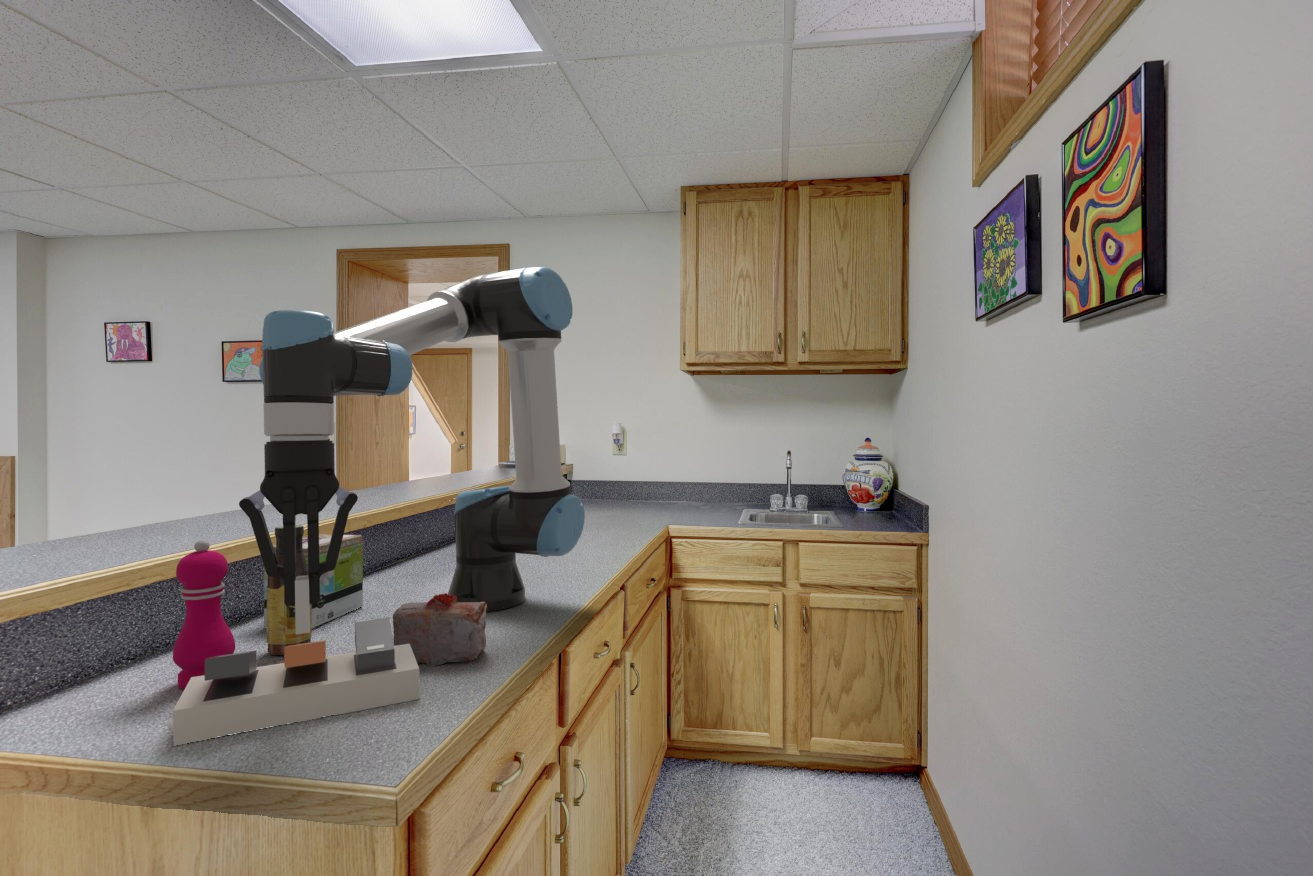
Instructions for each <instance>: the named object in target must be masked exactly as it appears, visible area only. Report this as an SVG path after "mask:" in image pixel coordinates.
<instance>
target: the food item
mask: <svg viewBox="0 0 1313 876" xmlns="http://www.w3.org/2000/svg"><path fill="white" fill-rule="evenodd" d="M456 601H457V597H456V596H454V595H451V596H449V595H448V593H440V594H435V595H434V596H433V597H432V598H431V599H429V601H422V602H420V601H419V602H417V601H416V602H405V603H403V604H402V605H401V606H400V607H397V608H396V609H395V611H394V612H393V615H392V627H393V630H392V631H393V633H392V634H393V642H394V646H397V645H404V644H410V646H411V648H412V651H413V654H414V656H415V659H416V661H417V664H427V665H429V666H430V667H436V666H440V665H444V664H446V663H467V662H472V661H474V660H475V658H476V659H477V658H478V656H479V655H480V654H481V653H483V652H485V650H486V647H487V637H486V632H485V631H486V627H487V623H486V622H487V621H486V618H487V611H486V608H487V604H486V602H456Z"/></svg>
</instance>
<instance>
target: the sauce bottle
mask: <svg viewBox="0 0 1313 876" xmlns="http://www.w3.org/2000/svg"><path fill="white" fill-rule="evenodd" d="M295 525H296V576H306V575H308V565H307V562H306V560H305V557H304V554H303V538H304V533H305V527H304V525H301V524H295ZM274 536H275V539H276V541H275V544H276V558H277V561H278V564H279V565H282V566H284V557H283V525H279V526H276V527H274ZM311 607H312V604H310V633H304V634H296V622H295V606H286V605H285V603H284V581H283V580H282V579H281V578H278V577H270V576H268V586H267V627H266V643H267V652H268V654H270V655H272V656H284V648H285V647H287V646H290V645H297V644H304V643H310V642H312V641H311V639H312V630H313V629H312V619H311Z"/></svg>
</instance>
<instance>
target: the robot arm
mask: <svg viewBox="0 0 1313 876" xmlns="http://www.w3.org/2000/svg"><path fill="white" fill-rule="evenodd" d="M573 310H574V309H573V302H572V297H571V294H570V291H569V288H568V286H567V285H566V283H565V282H564V280H563V278H562V277H561V276H560V275H559V273H557V271H555V270H553V269H552V268H550V267H546V266H534V267H533V266H531V267H530V266H526V267H523V268H518V269H517V268H516V269H512V270H504V271H498V272H490V273H485V274H483V273H482V274H479V275H475V276H473V277H471V278H467V279H465V280H463V281H460V282H458V283H455V284H453V285H451V286H448V287H446V288H444V289H441V290H438V291H434V292H433V293H431V294H430V295H429V296H428V297H427V299H426V300H425V301H423V302H420V303H417V304H413V305H411V306H408V307H405V308H402V309H400V310H396V311H394V312H392V313H391V312H390V313H388V314H385V315H382V316H379V317H376V318H373V319H370V320H367V321H364V322H360V323H359V324H355V325H352V326H350V327H347V328H344V329H341V330H337V331H335V330H334V328H333V321H332V318H331V317H330V316H328V315H327V314H323V313H321V312H316V311H313V310H311V311H309V310H302V309H301V310H299V309H282V310H274V311H272V312H269V313H267V314H266V315H265V317H264V318H263V326H262V340H261V341H262V342H261V343H262V344H261V346H260V348H261V349H260V350H261V351H262V358H261V360H260V362H259V368H258V370H259V371H258V373H259V378H260V379H261V382H262V385H263V435H264V436H266V437H269V441H266V442H265V444H263V445H264V476H263V477H264V478H263V480H262V481H261V483H260V485H259V490H257V491H256V492H254V493H253V494H251V495H250V496H247V497H243V498H242V499H240V500H239V503H238V505H239V508H241V510H242V511H243V512H244V514H245V515H246V516H247V518H249V521H250V524H251V527H252V531H253V535H254V538H255V541H256V544H257V549H259V550H258V551H259V553H260V557H261V560H262V563H263V568H264V567H265V570H266V574H267V575H268V576H270V577H278V578H281V579H282V580H283V581H284V603H285V605H286V606H295V622H296V634H304V633H310V604H312V603H318V602H319V600H320V577H321V575H322V574H324V573H326V572H328V571H332V570H334V569H335V567H336V563H337V559H338V555H339V551H340V547H341V543H342V539H343V535H345V530H346V527H347V523H348V518H349V514H350V512H351V510H352V509H353V508H354V506H355V505H356V503H357V502H358V498H359V497H358V495H357V493H356V492H354V491H353V492H352V491H350V490H348V489H346V488H345V487H342V486H340V481H339V479H338V478H337V475H336V473H335V470H336V469H335V468H336V467H335V466H336V465H335V442H333V440H331V439H330V438H329V436H333V435H334V434H335V418H334V417H335V413H334V412H335V411H334V408H335V406H334V404H335V403H334V397H339V396H341V397H342V396H345V397H346V396H363V395H364V396H365V395H366V396H367V395H369V396H377V397H384V396H397V395H400V394H402V393H403V392H405V390H406V389H407V388H408V387H409V386H410V383H411V381H412V379H413V369H414V368H413V361H412V358H411V355H414V354H417V353H418V352H421V351H424V350H426V349H428V348H430V347H433V346H435V345H438V344H440V343H443V342H447V343H456V342H459V341H460V340H465V339H467V338H473V337H475V338H476V337H484V336H497V337H498V344H499V345H500V346H501V347H502V348H504V349H505V350H506V353H507V359H508V363H507V364H508V374H509V375H508V377H509V378H508V379H509V388H510V389H509V391H510V392H509V393H510V403H511V404H510V405H511V418H512V434H513V446H514V447H513V448H514V449H513V451H514V464H515V480H514V481H513V482H512V483H511V484H510V485H503V486H496V487H488V488H481V489H480V488H479V489H474V490H466V491H462V492H459V493H458V495H457V496H456V497H455V506H454V507H455V508H454V513H453V515H454V537H455V566H456V567H455V568H454V569H455V570H454V573H453V576H452V580H451V582H450V585H449V588H448V593H447V594H448V595H449V596H451V595H454V596H456V597H457V601H456V602H486V604H487V608H486V612H494V611H501V610H506V609H510V608H513V607H516V606H518V605H521V604H522V603H524V602H525V600H526V588H525V585H524V582H523V579H522V576H521V574H520V571H519V567H518V564H517V560H516V558H517V557H516V554H522V555H531V556H533V555H534V556H541V557H542V558H543V557H544V558H546V557H562V556H565V555H567V554H569V553H570V552H571V551H572V550H573V549H574V548H575V547H576V546H577V544H578V543H579V539H580V538H581V536H582V533H583V530H584V526H585V518H586V516H585V515H586V513H585V507H584V504H583V502H582V500H581V498H580V497H578V496H576V495H575V494H571V493H572V490H571V489H572V488H571V482H570V481H568V479H566V478H565V477H564V476H563V473H562V461H561V460H562V459H561V442H560V441H561V440H560V428H559V412H558V411H559V410H558V396H557V395H558V394H557V391H558V390H557V377H556V376H557V375H556V363H555V361H556V359H555V350H556V348H557V347H558V346H559V344H561V342H562V331H563V330H565V329H566V328H567V327H568V326H569V325H570V324H571V320H572V318H573ZM335 495H336V505H337V506H338V508H337V509H338V510H337V512H336V516H335V521H334V525H333V529H332V533H331V534H332V536H331V540H330V544H329V548H328V552H327V556H326V560H325V561H323V562H320V559H319V534H320V523H319V522H320V519H319V518H320V515H319V513H321V512H322V511H324V509H325V507H326V506H327V505H328V504H329V502H330V500H332V498H333V497H334V496H335ZM264 498H265V499H266V500H267V501H268V502H269V503H270V504H271V505H272V506H273V508H275V510H276V511H277V512H278V513H279V514H282V526H283V557H284V566H282V565H279V564H278V561H277V558H276V554H275V551H274V548H273V545H274V544H273V542H272V541H273V540H272V538H271V536H270V532H269V528H268V525H267V522H266V519H265V516H264V513H263V511H262V510H263V509H264V508H265V503H264ZM297 515H306V520H307V521H306V522H307V523H306V524H307V525H306V526H307V537H308V575H306V576H296V525H297V524H296V516H297Z"/></svg>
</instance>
